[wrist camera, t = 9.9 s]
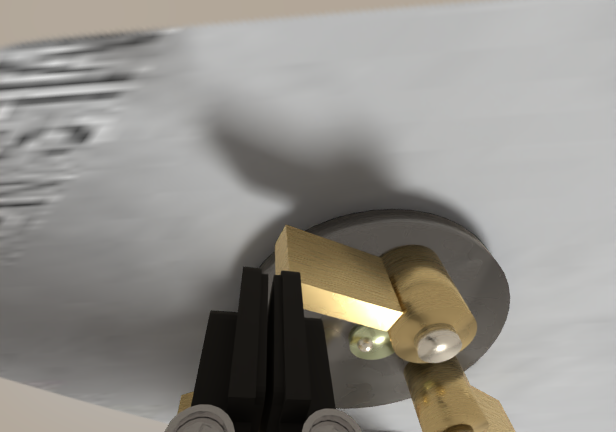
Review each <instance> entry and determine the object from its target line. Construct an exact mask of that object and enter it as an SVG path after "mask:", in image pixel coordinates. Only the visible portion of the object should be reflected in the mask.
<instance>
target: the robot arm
mask: <svg viewBox="0 0 616 432" xmlns="http://www.w3.org/2000/svg"><path fill="white" fill-rule="evenodd" d="M258 431H259V432H362V431H361V429H360V427H359V425H358V424H357V423H356V422H355V421H354V419H353V418H352V417H350V416H349V415H347V414H346V413H344V412H342V411H339V410H336V407H335V400H334V393H333V386H332V379H331V373H330V366H329V359H328V352H327V345H326V339H325V332H324V325H323V321H322V319H320V318H306V317H304V308H303V297H302V286H301V275H300V272H294V271H283V270H282V271H281V274H280V275H274V276H273V282H272V287H271V293H270V299H269V304H268V274H262V268H251V267H243V274H242V282H241V290H240V299H239V307H238V312H224V311H211V312H210V315H209V320H208V325H207V330H206V335H205V340H204V345H203V349H202V354H201V359H200V364H199V369H198V374H197V379H196V384H195V389H194V393H193V398H192V403H191V407H189V408H187V409H185V410H183V411H182V412H180V413H178V414H177V415H176V416H175V417H174V418H173V419H172V420H171V421H170V423H169V425H168V427H167V429H166V430H165V432H258Z"/></svg>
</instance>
